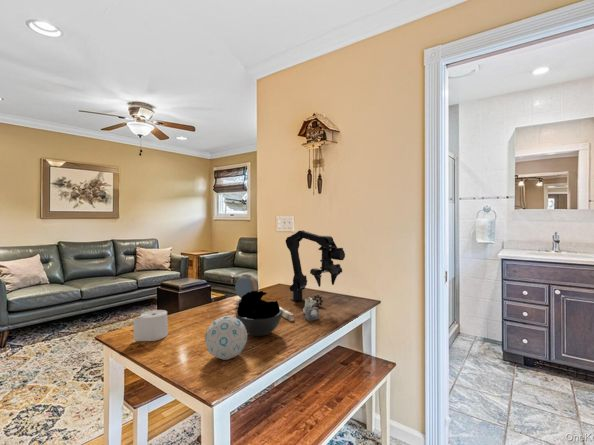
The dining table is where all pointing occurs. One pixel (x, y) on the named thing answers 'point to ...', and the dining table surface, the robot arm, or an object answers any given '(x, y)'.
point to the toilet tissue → (150, 326)
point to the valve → (313, 301)
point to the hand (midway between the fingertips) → (326, 285)
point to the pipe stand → (311, 313)
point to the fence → (287, 314)
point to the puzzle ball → (226, 337)
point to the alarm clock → (245, 286)
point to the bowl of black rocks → (258, 314)
